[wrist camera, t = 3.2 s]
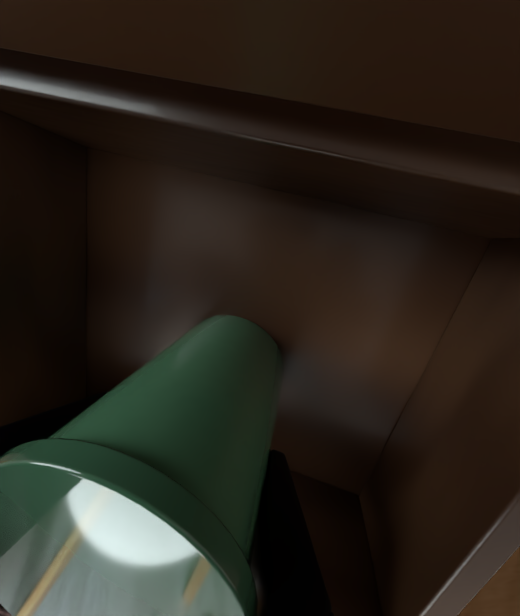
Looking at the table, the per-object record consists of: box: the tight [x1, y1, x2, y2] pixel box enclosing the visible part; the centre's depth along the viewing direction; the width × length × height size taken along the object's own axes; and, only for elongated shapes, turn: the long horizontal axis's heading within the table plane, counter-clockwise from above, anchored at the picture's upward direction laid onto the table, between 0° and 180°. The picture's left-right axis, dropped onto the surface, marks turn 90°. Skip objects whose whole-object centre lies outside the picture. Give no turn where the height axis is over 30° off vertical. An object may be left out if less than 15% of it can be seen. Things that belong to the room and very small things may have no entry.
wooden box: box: [0, 48, 520, 616], centre depth 9 cm, size 15×18×6 cm
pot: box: [0, 315, 284, 616], centre depth 8 cm, size 6×6×8 cm
